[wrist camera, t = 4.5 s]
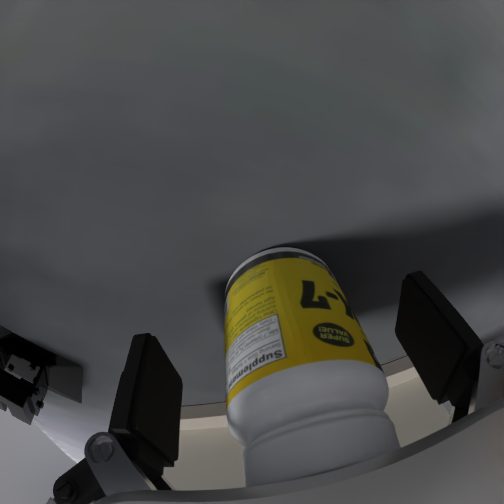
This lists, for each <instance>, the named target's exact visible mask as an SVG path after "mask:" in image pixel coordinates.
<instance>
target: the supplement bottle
mask: <svg viewBox="0 0 504 504" xmlns="http://www.w3.org/2000/svg"><path fill="white" fill-rule="evenodd" d="M224 319H225V385H226V417H227V423H228V427H229V429H230V432H231V434H232V435H233V437H234V438H235V439H236V440H237V441H238V442H239V443H240V444H242V445H243V446H245V448H244V450H243V461H242V465H243V471H244V479H245V487H251V486H260V485H267V484H273V483H280V482H285V481H291V480H296V479H301V478H306V477H310V476H315V475H319V474H323V473H327V472H331V471H334V470H338V469H341V468H345V467H348V466H351V465H355V464H358V463H361V462H364V461H367V460H370V459H373V458H375V457H378V456H381V455H384V454H386V453H389V452H391V451H394V450H397V449H399V448H401V447H400V444H399V441H398V438H397V434H396V431H395V426H394V423H393V422H392V421H391V420H390V419H389V416H388V414H386V413H385V412H384V409H385V407H386V404H387V401H388V397H389V387H388V383H387V380H386V377H385V374H384V372H383V369H382V367H381V365H380V363H379V362H378V360H377V358H376V356H375V354H374V352H373V349H372V348H371V346H370V344H369V342H368V340H367V338H366V336H365V334H364V332H363V330H362V328H361V326H360V324H359V322H358V320H357V318H356V316H355V314H354V312H353V310H352V309H351V307H350V305H349V303H348V301H347V300H346V298H345V295H344V294H343V292H342V290H341V288H340V287H339V284H338V283H337V281H336V279H335V277H334V275H333V274H332V272H331V270H330V269H329V268H328V266H327V265H326V264H325V263H324V262H323V261H322V260H321V259H320V258H318V257H317V256H315V255H313V254H311V253H309V252H307V251H304V250H301V249H297V248H290V247H280V248H273V249H268V250H265V251H262V252H260V253H257V254H255V255H253V256H252V257H250V258H248V259H247V260H246V261H244V262H243V263H242V264H241V265H240V266H239V267H238V268H237V269H236V270H235V272H234V273H233V274H232V276H231V277H230V279H229V281H228V284H227V287H226V290H225V298H224Z"/></svg>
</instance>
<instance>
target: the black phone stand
mask: <svg viewBox="0 0 504 504" xmlns="http://www.w3.org/2000/svg"><path fill="white" fill-rule="evenodd" d="M5 368H7V369H8V370H9V371H10V372H14V373H16V374H18V375H19V376H21V377H23V378H25V379H27V380H29V381H31V382H32V383H33V384H32V383H31V382H29V381H27V380H25V379H23V378H21V379H18V378H16V377H15V376H13V375H11V374H9V373H8V372H6V371H4V369H5ZM82 374H83V367H82V366H81V365H79V364H76V363H74V362H72V361H69V360H67V359H65V358H62V357H60V356H58V355H56V354H54V353H52V352H50V351H47V350H45V349H43V348H41V347H39V346H37V345H35V344H33V343H31V342H30V341H28V340H26V339H24V338H22V337H20V336H18V335H17V334H15V333H13V332H11V331H9V330H8V329H6V328H4V327H3V326H1V325H0V409H2V410H4V411H6V409H7V406H8V408H9V410H10V412H11V414H12V415H13V416H14V417H16V418H18V419H20V420H21V421H23V422H25V423H27V424H29V425H31V422H32V419H33V417H34V415H36V416H38V414H39V411H40V409H41V408H43V406H44V403H43V400H44V398H45V395H46V393H47V390H51V391H53V392H55V393H57V394H59V395H62V396H64V397H66V398H69V399H71V400H73V401H76V402H78V403H82Z"/></svg>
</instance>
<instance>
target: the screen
mask: <svg viewBox="0 0 504 504" xmlns="http://www.w3.org/2000/svg"><path fill="white" fill-rule="evenodd" d="M381 367H382V369H383V372H384V374H385V377H386V380H387V383H388V387H389V397H388V401H387V404H386V407H385V409H384V412H385V413H386V414H388V416H389V419H390V420H391V421H392V422H393V423H394V426H395V431H396V434H397V438H398V441H399V444H400V447H404V446H406V445H408V444H411V443H413V442H415V441H417V440H420V439H422V438H424V437H426V436H428V435H430V434H432V433H434V432H436V431H438V430H440V429H442V428H444V427H446V426H447V425H448V421H449V417H450V416H449V415H448V413H447V411H446V409H445V407H444V405H443V403H442V404H440V405H439V404H438V402H437V401H436V400H433V399H432V398H431V396H430V395H429V393H428V391H427V389H426V387H425V385H424V383H423V382H422V380H421V378H420V376H419V374H418V373H417V371H416V369H415V367H414V366H413V364H412V362H411V360H410V359H409V357H408V356H406V357H403V358H401V359H398V360H395V361H393V362H390V363H387V364H384V365H381ZM244 448H245V446H243V445H242V444H240V443H239V442H238V441H237V440H236V439H235V438H234V437H233V435H232V434H231V432H230V429H229V427H228V423H227V417H226V402H222V403H214V404H205V405H196V406H184V407H181V417H180V434H179V456H178V460H177V461H175V462H174V467H164V472H163V475H164V476H165V478H166V479H167V480H168V481H169V482H170V484H171V485H172V486H173V487H174V488H175V489H176V490H215V489H231V488H242V487H245V479H244V471H243V465H242V461H243V450H244Z"/></svg>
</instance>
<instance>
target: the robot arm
mask: <svg viewBox="0 0 504 504" xmlns="http://www.w3.org/2000/svg"><path fill="white" fill-rule="evenodd" d="M395 333H396V336H397V338H398V340H399V342H400V343H401V345H402V347H403V348H404V350H405V352H406V353H407V355H408V357H409V359H410V360H411V362H412V364H413V366H414V367H415V369H416V371H417V373H418V374H419V376H420V378H421V380H422V382H423V383H424V385H425V387H426V389H427V391H428V393H429V395H430V396H431V398H432V399H433V400H436V401H437V402H438V404H439V405H440V404H442V403H444V402H446V401H448V400H449V401H450V402H451V404H452V409H451V413H450V417H449V421H448V425H447V426H446V427H444V428H442V429H440V430H438V431H436V432H434V433H432V434H430V435H428V436H426V437H424V438H422V439H420V440H417V441H415V442H413V443H411V444H408V445H406V446H404V447H401V448H399V449H397V450H394V451H391V452H389V453H386V454H384V455H381V456H378V457H375V458H373V459H370V460H367V461H364V462H361V463H358V464H355V465H351V466H348V467H345V468H341V469H338V470H334V471H331V472H327V473H323V474H319V475H315V476H310V477H306V478H301V479H296V480H291V481H285V482H280V483H273V484H267V485H260V486H251V487H242V488H231V489H215V490H176V489H175V488H174V487H173V486H172V485H171V484H170V482H169V481H168V480H167V479H166V478H165V476H164V475H163V472H164V467H174V462H175V461H177V460H178V456H179V434H180V417H181V402H182V389H183V384H182V379H181V377H180V376H179V374H178V373H177V371H176V369H175V368H174V366H173V365H172V363H171V361H170V360H169V358H168V357H167V355H166V353H165V352H164V350H163V348H162V347H161V345H160V343H159V341H158V340H157V338H156V337H155V336H151V334H150V333H144V334H138V335H134V337H133V339H132V343H131V346H130V350H129V354H128V357H127V361H126V365H125V368H124V371H123V372H122V374H121V377H120V381H119V385H118V389H117V393H116V398H115V402H114V406H113V411H112V415H111V420H110V425H109V429H108V433H107V432H99V433H96V434H94V435H93V436H91V437H90V438H89V439H88V441H87V443H86V445H85V449H84V454H85V458H84V459H83V460H81V461H80V462H79V463H78V464H76V465H75V466H74V467H72V468H71V469H70V470H68V471H67V472H66V473H65V474H63V475H62V476H61V477H59V478H58V479H57V480H56V482H55V484H54V487H53V494H54V498H51V497H50V498H49V500H48V501H47V503H46V504H504V343H503V342H501V341H496V340H493V341H489V342H488V343H486V344H485V345H483V343H482V341H481V340H480V339H479V338H478V336H477V335H476V334H475V332H474V331H473V330H472V329H471V327H470V326H469V325H468V324H467V322H466V321H465V320H464V319H463V317H462V316H461V315H460V314H459V313H458V311H457V310H456V309H455V308H454V307H453V306H452V304H451V303H450V302H449V301H448V300H447V299H446V297H445V296H444V295H443V294H442V293H441V292H440V291H439V289H438V288H437V287H436V286H435V285H434V284H433V283H432V282H431V281H430V280H429V278H428V277H427V276H426V275H425V274H424V273H423V272H422V271H417V272H413V273H410V274H407V275H406V278H405V279H404V280H403V282H402V289H401V296H400V303H399V309H398V315H397V321H396V327H395Z"/></svg>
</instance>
